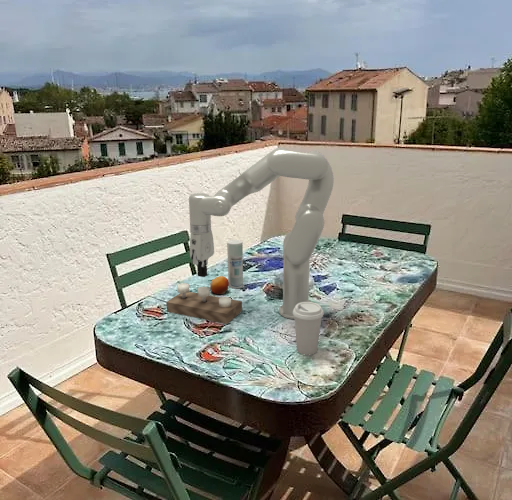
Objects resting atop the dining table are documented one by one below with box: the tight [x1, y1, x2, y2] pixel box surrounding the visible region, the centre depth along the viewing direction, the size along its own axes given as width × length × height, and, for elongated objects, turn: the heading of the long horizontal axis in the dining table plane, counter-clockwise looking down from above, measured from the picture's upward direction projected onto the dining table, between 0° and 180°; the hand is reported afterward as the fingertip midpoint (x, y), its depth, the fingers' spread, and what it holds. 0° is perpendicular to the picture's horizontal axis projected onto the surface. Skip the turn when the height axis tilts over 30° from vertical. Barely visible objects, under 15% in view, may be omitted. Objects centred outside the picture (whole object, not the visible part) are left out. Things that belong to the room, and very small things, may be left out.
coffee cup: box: [293, 301, 324, 356], centre depth 143 cm, size 10×10×15 cm
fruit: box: [209, 275, 229, 295], centre depth 191 cm, size 8×8×8 cm
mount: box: [165, 291, 243, 325], centre depth 173 cm, size 26×12×4 cm, turn 65°
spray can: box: [226, 239, 244, 290], centre depth 195 cm, size 6×6×20 cm
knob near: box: [219, 296, 231, 308], centre depth 169 cm, size 4×4×5 cm
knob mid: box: [197, 286, 211, 302], centre depth 172 cm, size 4×4×5 cm
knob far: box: [177, 282, 190, 298], centre depth 175 cm, size 4×4×5 cm
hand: (202, 275), depth 170 cm, fingers closed
